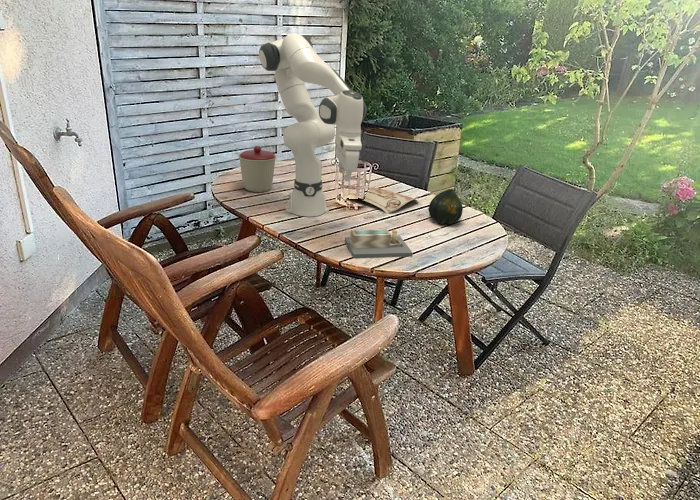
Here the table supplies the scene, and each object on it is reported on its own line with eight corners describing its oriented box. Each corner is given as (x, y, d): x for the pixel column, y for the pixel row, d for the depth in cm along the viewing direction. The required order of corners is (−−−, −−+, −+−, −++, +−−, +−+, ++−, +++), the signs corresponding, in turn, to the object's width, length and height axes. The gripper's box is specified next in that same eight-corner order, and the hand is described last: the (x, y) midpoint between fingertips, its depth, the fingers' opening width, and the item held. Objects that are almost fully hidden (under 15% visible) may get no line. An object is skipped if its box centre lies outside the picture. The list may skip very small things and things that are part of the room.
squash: (424, 213, 221) (451, 189, 218) (420, 203, 235) (446, 180, 232) (447, 236, 225) (474, 212, 221) (441, 225, 239) (467, 202, 235)
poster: (423, 208, 255) (374, 192, 272) (426, 196, 253) (376, 180, 270) (390, 217, 234) (339, 199, 251) (392, 204, 232) (341, 186, 249)
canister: (232, 186, 258) (231, 143, 250) (266, 182, 268) (266, 140, 260) (247, 196, 245) (247, 151, 237) (283, 192, 254) (283, 148, 246)
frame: (353, 248, 193) (353, 235, 191) (349, 242, 198) (350, 229, 196) (402, 247, 197) (404, 234, 195) (398, 241, 202) (400, 228, 200)
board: (344, 240, 203) (345, 222, 200) (399, 239, 207) (401, 222, 204) (353, 258, 188) (354, 238, 185) (412, 256, 193) (414, 237, 190)
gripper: (333, 131, 195) (330, 167, 201) (344, 146, 177) (341, 185, 183) (350, 132, 196) (346, 168, 202) (363, 146, 179) (358, 185, 184)
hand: (344, 176), depth 192 cm, fingers open, 8 cm apart
